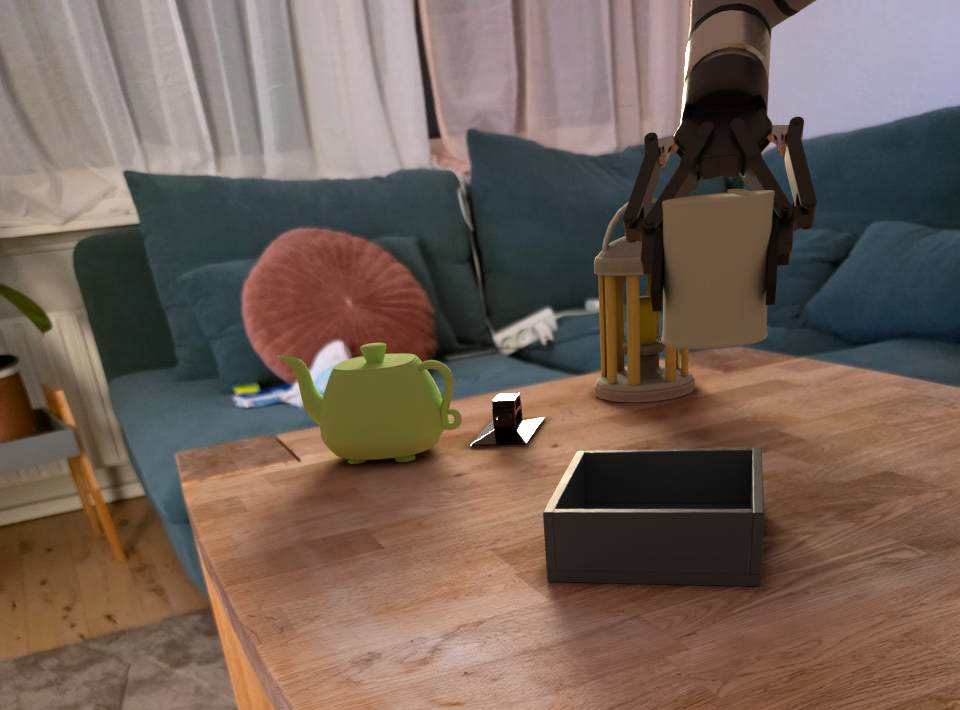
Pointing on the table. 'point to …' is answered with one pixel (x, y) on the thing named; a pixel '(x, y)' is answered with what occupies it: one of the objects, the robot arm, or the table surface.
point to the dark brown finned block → (508, 424)
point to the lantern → (633, 331)
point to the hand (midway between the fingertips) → (712, 297)
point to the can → (716, 269)
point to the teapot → (379, 405)
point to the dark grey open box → (658, 518)
